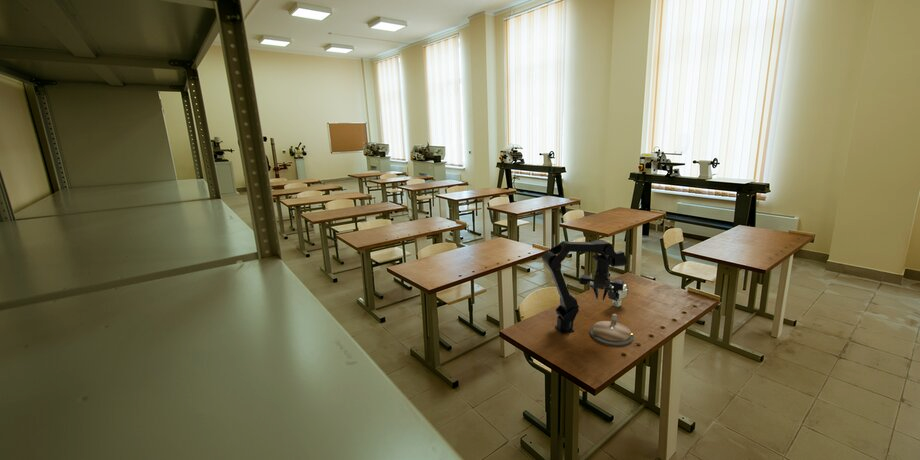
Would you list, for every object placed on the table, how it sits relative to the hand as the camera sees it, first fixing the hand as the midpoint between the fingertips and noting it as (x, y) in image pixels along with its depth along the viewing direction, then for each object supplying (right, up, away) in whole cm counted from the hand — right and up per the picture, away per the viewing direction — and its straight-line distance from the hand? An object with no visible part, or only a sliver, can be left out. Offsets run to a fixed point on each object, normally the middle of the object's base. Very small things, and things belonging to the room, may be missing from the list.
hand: (600, 299), depth 178 cm
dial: (+3, -14, -6) cm, 15 cm away
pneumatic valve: (+17, -7, +21) cm, 28 cm away
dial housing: (+3, -15, -5) cm, 16 cm away
